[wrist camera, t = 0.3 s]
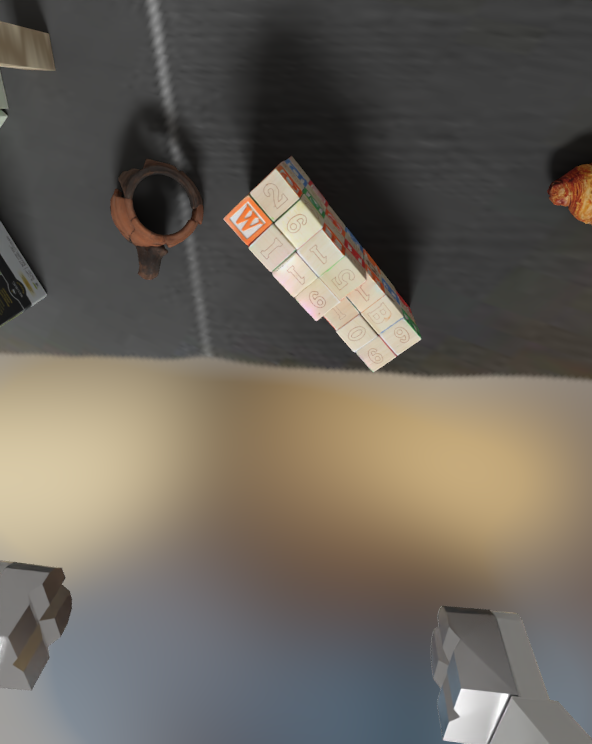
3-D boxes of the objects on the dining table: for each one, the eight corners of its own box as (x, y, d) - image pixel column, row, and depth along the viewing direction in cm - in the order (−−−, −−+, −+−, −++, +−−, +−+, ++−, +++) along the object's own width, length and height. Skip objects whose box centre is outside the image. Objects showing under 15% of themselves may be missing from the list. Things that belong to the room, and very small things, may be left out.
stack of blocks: (411, 306, 56) (427, 354, 45) (368, 337, 58) (373, 389, 47) (290, 154, 49) (275, 166, 38) (247, 195, 51) (221, 218, 41)
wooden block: (18, 32, 46) (-58, 14, 37) (48, 33, 46) (-22, 15, 37) (26, 69, 47) (-46, 60, 39) (55, 70, 47) (-11, 61, 39)
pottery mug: (107, 162, 52) (110, 149, 44) (195, 172, 55) (211, 163, 48) (110, 275, 54) (114, 281, 47) (194, 278, 58) (209, 284, 51)
